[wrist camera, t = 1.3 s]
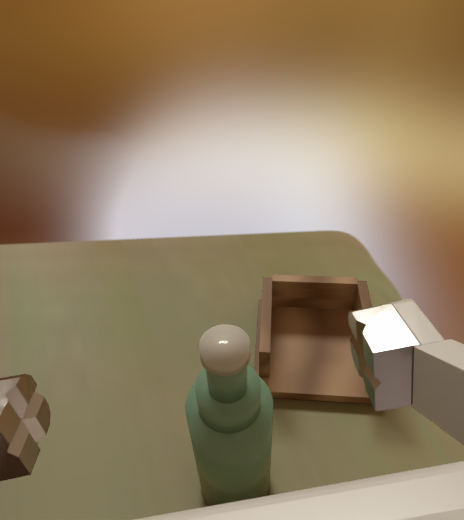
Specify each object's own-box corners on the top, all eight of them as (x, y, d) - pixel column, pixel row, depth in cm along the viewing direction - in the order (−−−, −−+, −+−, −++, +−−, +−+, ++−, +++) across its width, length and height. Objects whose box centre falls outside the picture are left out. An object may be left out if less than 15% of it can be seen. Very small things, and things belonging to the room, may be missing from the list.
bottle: (196, 517, 33) (163, 385, 21) (206, 446, 37) (183, 304, 25) (268, 523, 32) (275, 392, 21) (270, 451, 36) (276, 308, 25)
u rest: (253, 396, 41) (252, 365, 37) (258, 305, 50) (258, 274, 46) (381, 404, 39) (392, 372, 36) (362, 310, 49) (370, 278, 45)
